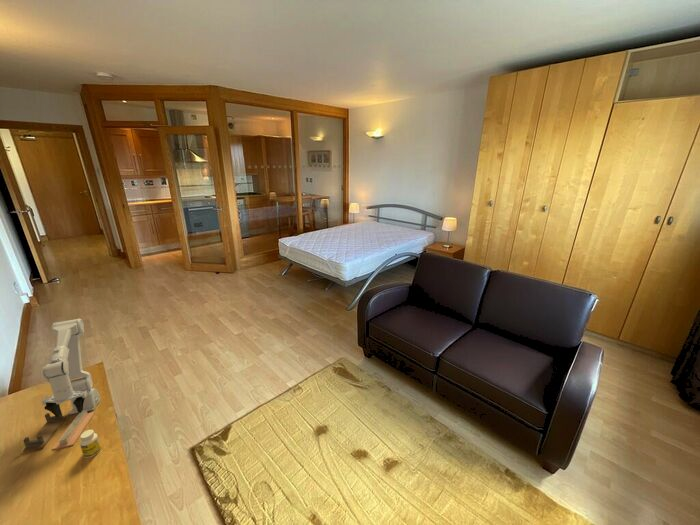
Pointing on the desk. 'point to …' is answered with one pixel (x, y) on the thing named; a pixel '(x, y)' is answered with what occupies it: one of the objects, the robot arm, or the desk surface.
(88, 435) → the supplement bottle
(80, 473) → the desk surface
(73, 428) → the steel rail
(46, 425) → the hook stand
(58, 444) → the mat
